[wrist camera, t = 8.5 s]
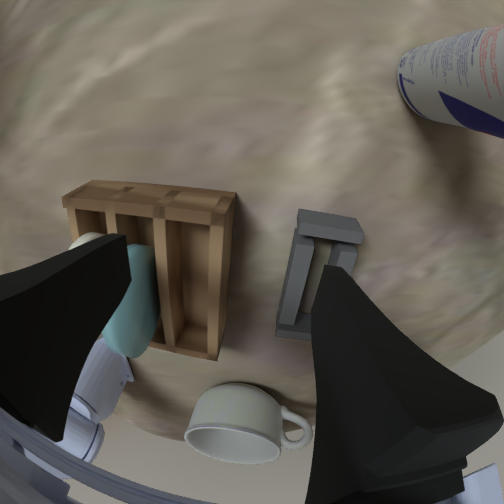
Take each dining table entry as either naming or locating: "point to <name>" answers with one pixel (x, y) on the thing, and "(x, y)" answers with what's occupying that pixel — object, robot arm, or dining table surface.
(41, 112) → the dining table surface
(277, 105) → the dining table surface
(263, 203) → the dining table surface
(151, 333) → the teal plate
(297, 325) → the rubber holder
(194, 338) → the walnut rack
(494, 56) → the energy drink
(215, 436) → the teacup
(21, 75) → the dining table surface
